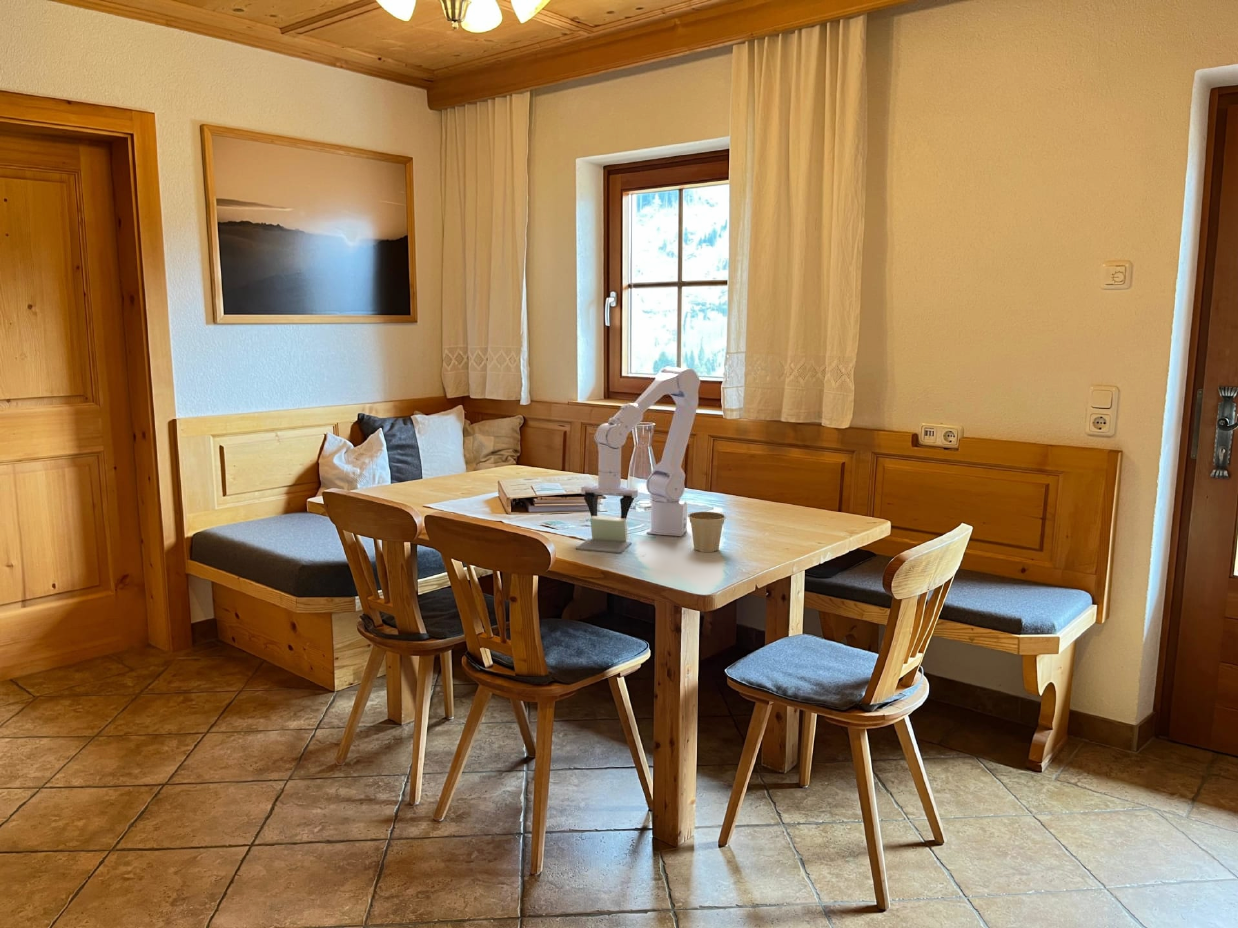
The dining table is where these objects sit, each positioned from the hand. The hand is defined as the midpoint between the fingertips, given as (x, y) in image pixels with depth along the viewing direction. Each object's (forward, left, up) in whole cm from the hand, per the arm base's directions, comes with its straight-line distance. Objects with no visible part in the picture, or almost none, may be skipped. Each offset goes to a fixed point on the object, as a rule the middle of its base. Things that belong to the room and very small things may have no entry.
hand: (608, 523), depth 239 cm
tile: (-1, 0, -4) cm, 4 cm away
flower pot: (-26, 0, -5) cm, 26 cm away
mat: (-1, +6, -4) cm, 8 cm away
